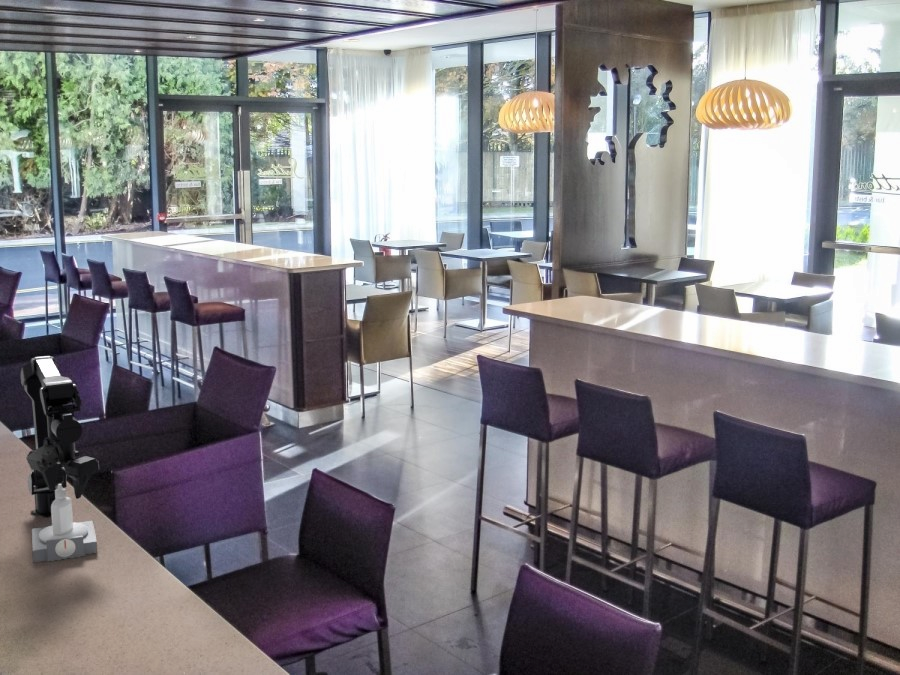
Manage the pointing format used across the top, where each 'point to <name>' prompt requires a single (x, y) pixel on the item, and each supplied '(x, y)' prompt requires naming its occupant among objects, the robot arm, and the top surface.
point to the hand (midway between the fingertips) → (65, 494)
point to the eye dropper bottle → (61, 512)
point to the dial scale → (63, 542)
